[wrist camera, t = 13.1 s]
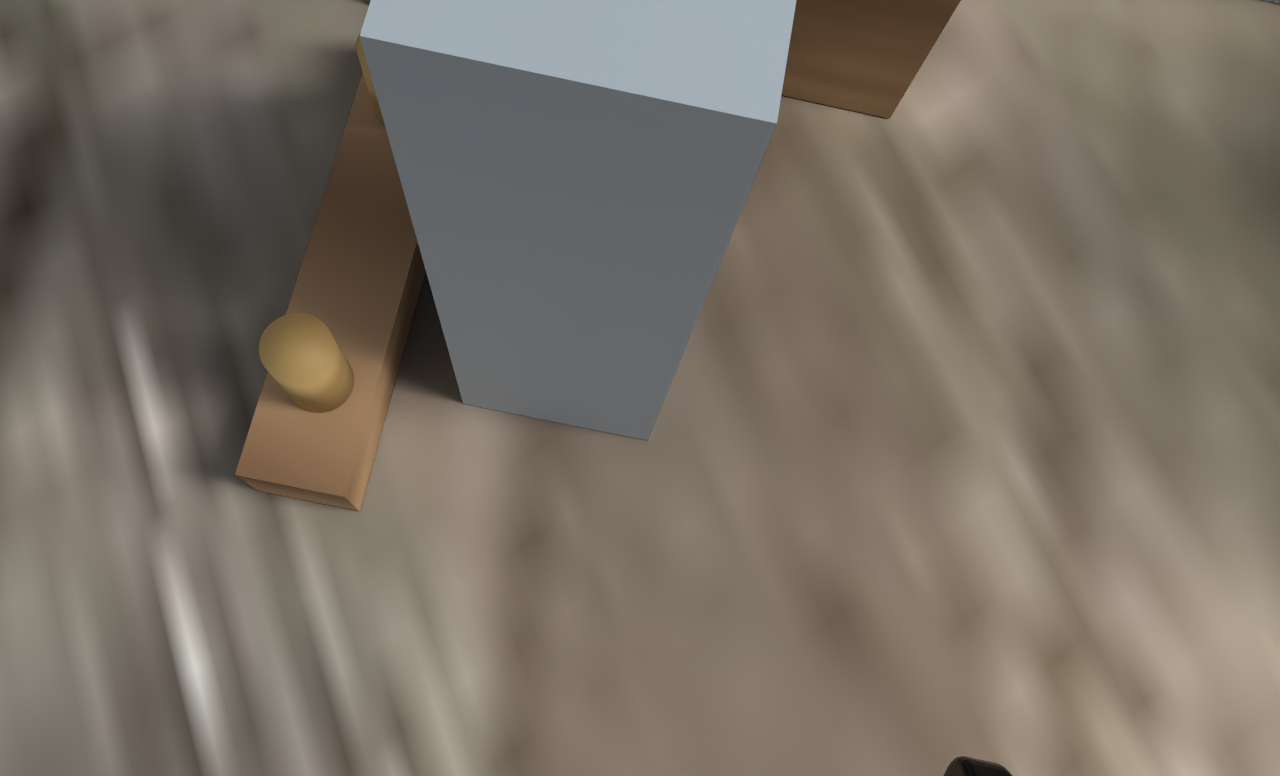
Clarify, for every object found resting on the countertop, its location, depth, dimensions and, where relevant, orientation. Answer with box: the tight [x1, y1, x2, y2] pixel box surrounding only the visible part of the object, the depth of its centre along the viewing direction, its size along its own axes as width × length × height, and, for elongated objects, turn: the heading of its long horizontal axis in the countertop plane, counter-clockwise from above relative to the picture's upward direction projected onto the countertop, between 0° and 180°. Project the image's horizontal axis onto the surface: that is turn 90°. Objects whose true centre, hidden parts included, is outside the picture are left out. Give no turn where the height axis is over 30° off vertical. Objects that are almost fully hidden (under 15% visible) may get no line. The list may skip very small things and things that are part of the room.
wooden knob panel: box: [235, 0, 960, 511], centre depth 17 cm, size 13×12×10 cm
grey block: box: [360, 0, 796, 440], centre depth 16 cm, size 5×4×12 cm
